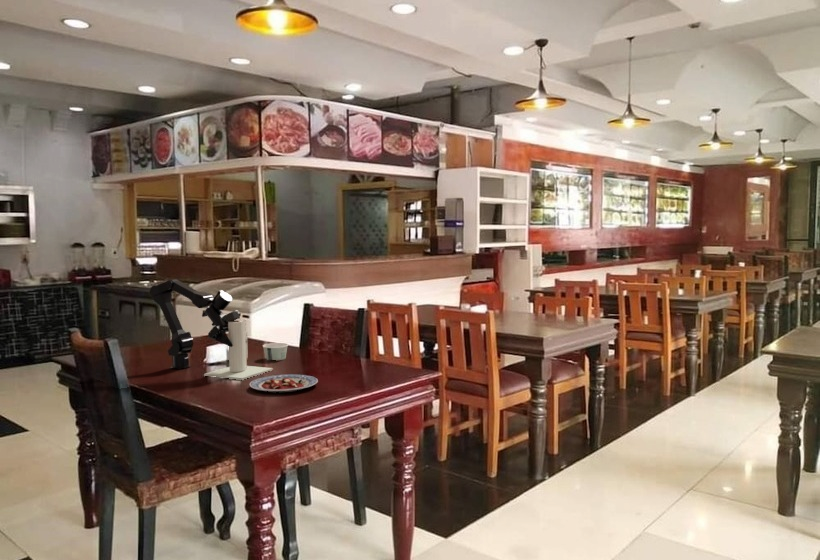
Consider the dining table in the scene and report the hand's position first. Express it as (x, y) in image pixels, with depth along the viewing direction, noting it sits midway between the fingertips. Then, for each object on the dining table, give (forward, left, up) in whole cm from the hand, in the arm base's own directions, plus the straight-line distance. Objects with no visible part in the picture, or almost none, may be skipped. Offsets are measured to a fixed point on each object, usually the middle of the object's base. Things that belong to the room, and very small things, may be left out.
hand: (239, 344), depth 261 cm
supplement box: (-21, +23, -13) cm, 33 cm away
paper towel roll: (-1, 0, -12) cm, 12 cm away
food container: (-6, +32, -13) cm, 35 cm away
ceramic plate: (+31, -12, -13) cm, 36 cm away
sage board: (-1, 0, -12) cm, 12 cm away
